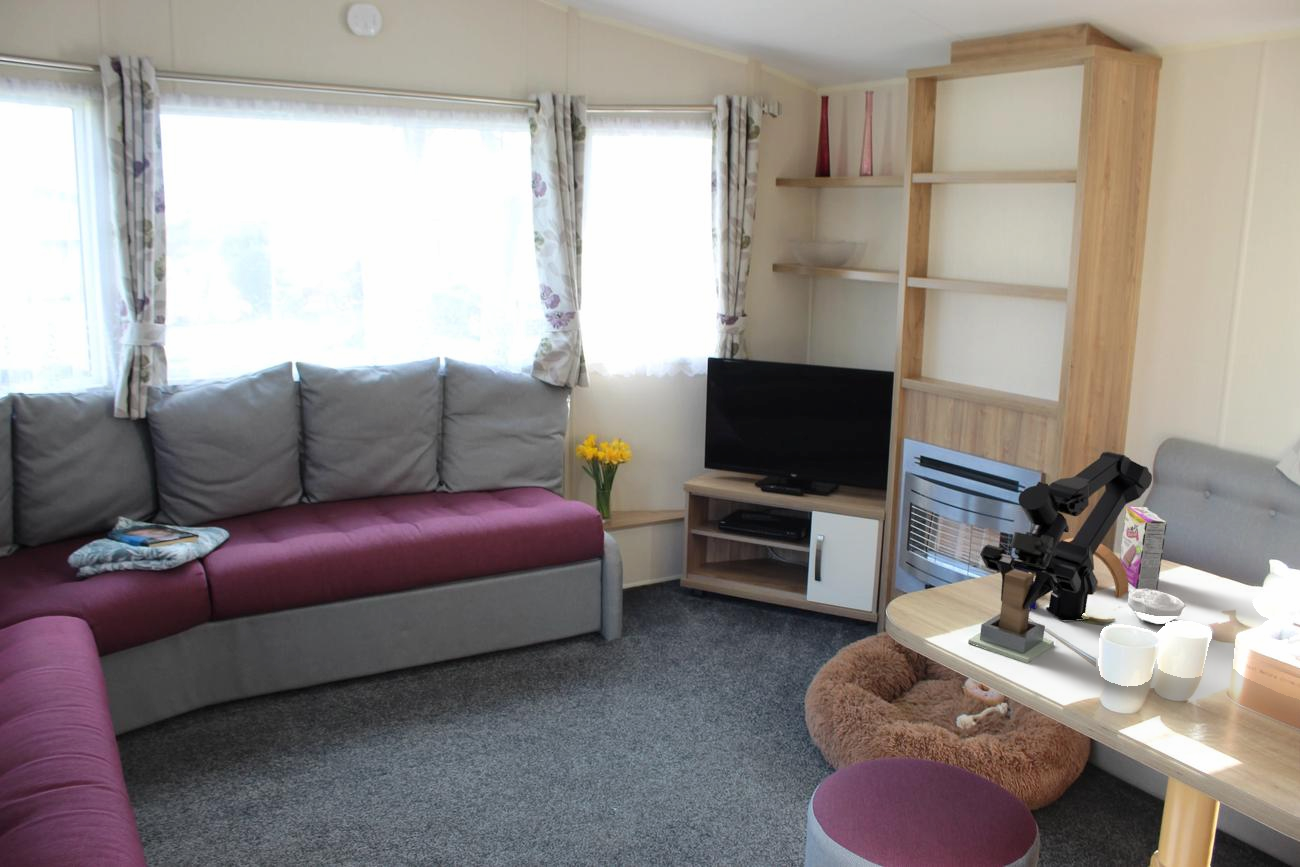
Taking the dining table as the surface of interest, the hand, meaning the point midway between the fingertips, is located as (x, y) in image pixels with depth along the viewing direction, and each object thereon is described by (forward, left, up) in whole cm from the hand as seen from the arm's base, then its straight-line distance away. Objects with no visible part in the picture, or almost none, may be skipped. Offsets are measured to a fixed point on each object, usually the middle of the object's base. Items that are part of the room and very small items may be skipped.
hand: (1012, 604), depth 212 cm
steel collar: (-1, -1, -9) cm, 9 cm away
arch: (-35, -30, -9) cm, 47 cm away
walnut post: (-1, -1, -7) cm, 7 cm away
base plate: (-1, -1, -9) cm, 9 cm away
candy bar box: (-49, -29, -9) cm, 58 cm away
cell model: (-38, -8, -9) cm, 40 cm away
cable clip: (-16, -23, -9) cm, 29 cm away
